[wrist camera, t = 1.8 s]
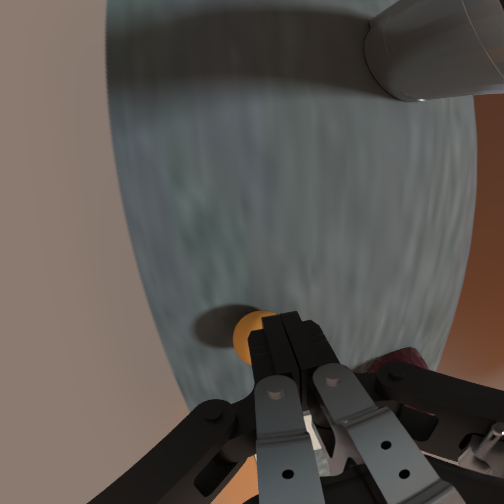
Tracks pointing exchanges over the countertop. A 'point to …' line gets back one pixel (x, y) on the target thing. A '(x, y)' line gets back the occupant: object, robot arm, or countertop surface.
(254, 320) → the ball
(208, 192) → the countertop surface
